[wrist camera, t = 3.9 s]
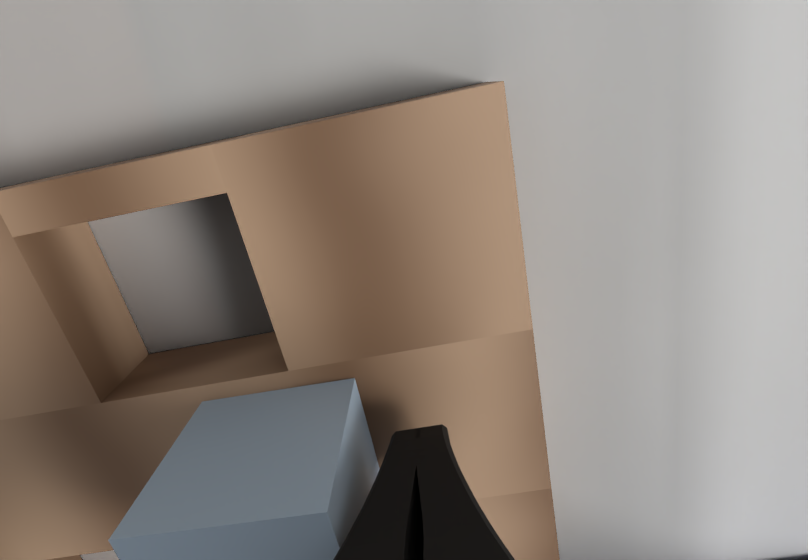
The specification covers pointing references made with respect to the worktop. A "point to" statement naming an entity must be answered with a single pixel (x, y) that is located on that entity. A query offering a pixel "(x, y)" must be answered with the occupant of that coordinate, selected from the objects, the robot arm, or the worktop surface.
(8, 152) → the worktop surface
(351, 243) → the tan flat slab
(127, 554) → the block
